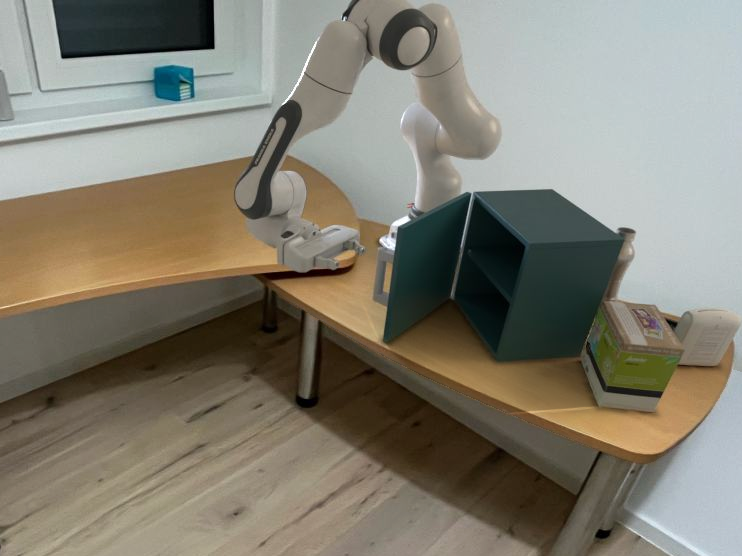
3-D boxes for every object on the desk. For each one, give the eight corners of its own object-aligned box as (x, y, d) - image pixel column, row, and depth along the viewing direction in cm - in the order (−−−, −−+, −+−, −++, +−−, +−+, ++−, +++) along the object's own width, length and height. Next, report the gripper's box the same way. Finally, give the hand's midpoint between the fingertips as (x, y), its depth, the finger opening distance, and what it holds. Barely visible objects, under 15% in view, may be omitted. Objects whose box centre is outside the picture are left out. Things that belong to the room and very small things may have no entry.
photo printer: (709, 355, 118) (736, 304, 111) (721, 368, 114) (750, 316, 107) (658, 353, 118) (683, 302, 111) (668, 366, 115) (694, 314, 108)
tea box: (577, 360, 116) (601, 297, 108) (629, 365, 115) (657, 303, 106) (596, 407, 104) (625, 341, 96) (655, 414, 103) (689, 348, 94)
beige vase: (615, 319, 130) (648, 238, 118) (584, 315, 131) (614, 235, 119) (608, 304, 135) (639, 226, 123) (578, 301, 136) (606, 223, 124)
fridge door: (362, 330, 124) (373, 218, 110) (426, 288, 140) (444, 185, 125) (387, 342, 121) (403, 228, 106) (450, 298, 136) (471, 193, 122)
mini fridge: (497, 362, 116) (530, 243, 100) (451, 297, 137) (473, 191, 122) (580, 357, 117) (625, 239, 102) (522, 293, 139) (552, 188, 124)
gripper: (330, 238, 138) (377, 256, 130) (272, 266, 126) (319, 287, 118) (332, 214, 135) (380, 230, 127) (272, 240, 122) (321, 260, 115)
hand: (350, 258), depth 122 cm, fingers open, 8 cm apart
